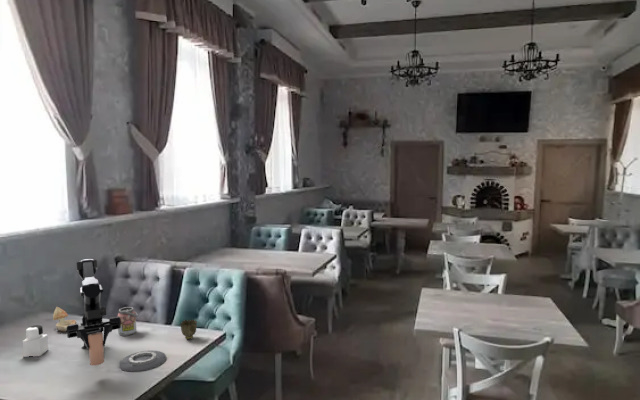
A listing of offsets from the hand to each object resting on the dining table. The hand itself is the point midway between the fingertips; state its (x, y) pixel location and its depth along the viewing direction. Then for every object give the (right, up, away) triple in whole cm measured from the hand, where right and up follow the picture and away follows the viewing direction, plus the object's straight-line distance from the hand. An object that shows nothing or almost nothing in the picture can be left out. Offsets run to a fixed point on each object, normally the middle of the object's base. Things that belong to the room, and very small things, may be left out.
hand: (96, 347), depth 169 cm
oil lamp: (-41, -9, +53) cm, 68 cm away
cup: (+24, -9, +38) cm, 46 cm away
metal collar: (+12, -11, +15) cm, 22 cm away
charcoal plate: (+12, -11, +15) cm, 22 cm away
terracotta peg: (-1, -7, +2) cm, 7 cm away
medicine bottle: (-39, -11, +25) cm, 48 cm away
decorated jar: (-8, -9, +47) cm, 48 cm away
